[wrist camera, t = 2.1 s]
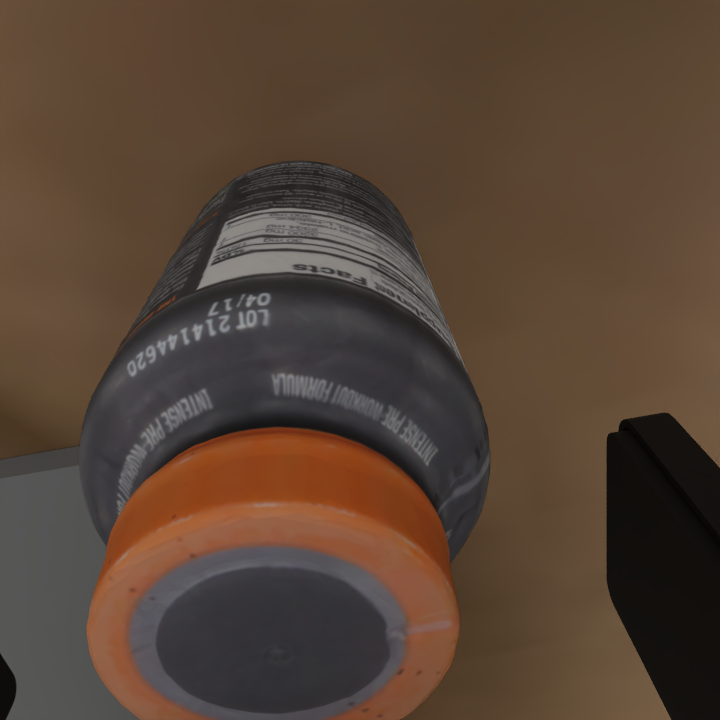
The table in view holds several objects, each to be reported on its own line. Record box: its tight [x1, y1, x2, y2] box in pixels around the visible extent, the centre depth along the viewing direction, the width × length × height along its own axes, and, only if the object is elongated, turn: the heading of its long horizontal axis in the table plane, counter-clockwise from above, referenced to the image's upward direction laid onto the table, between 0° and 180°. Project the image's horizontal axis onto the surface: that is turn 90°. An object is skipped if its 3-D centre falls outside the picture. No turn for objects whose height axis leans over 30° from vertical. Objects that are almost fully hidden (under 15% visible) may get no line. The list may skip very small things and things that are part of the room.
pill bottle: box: [79, 161, 490, 720], centre depth 12 cm, size 6×6×11 cm
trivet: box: [0, 446, 140, 720], centre depth 21 cm, size 12×12×1 cm
